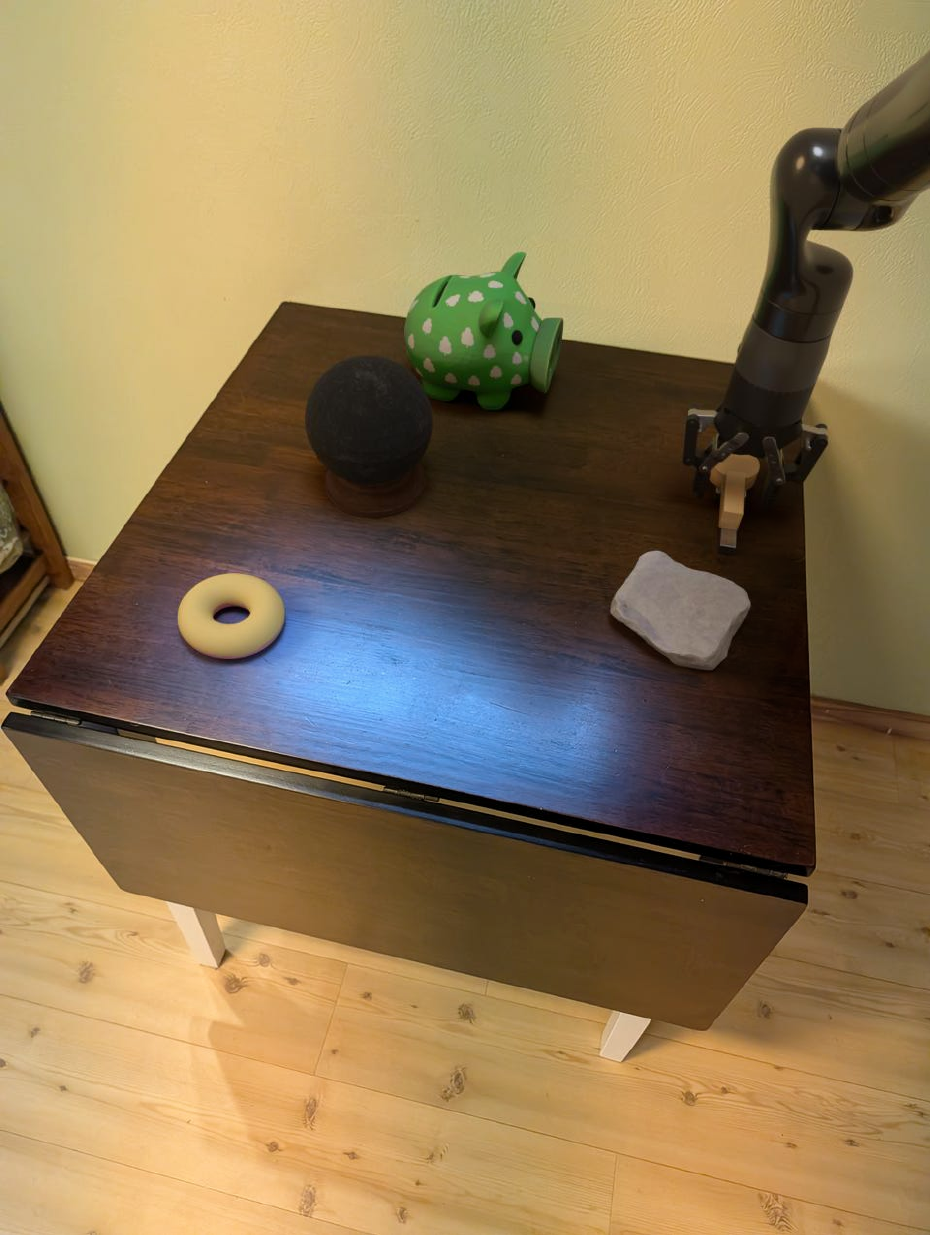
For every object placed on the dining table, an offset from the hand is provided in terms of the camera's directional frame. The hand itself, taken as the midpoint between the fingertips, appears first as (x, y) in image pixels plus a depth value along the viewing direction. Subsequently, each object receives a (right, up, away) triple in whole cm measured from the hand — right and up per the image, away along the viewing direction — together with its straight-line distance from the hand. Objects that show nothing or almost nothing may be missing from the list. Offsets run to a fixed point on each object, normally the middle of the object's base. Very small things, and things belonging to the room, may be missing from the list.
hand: (731, 498), depth 91 cm
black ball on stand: (-39, +2, +3) cm, 39 cm away
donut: (-51, -14, -10) cm, 53 cm away
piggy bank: (-27, +16, +15) cm, 34 cm away
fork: (0, -1, +2) cm, 2 cm away
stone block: (-9, -14, -9) cm, 18 cm away
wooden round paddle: (0, 0, +1) cm, 1 cm away
